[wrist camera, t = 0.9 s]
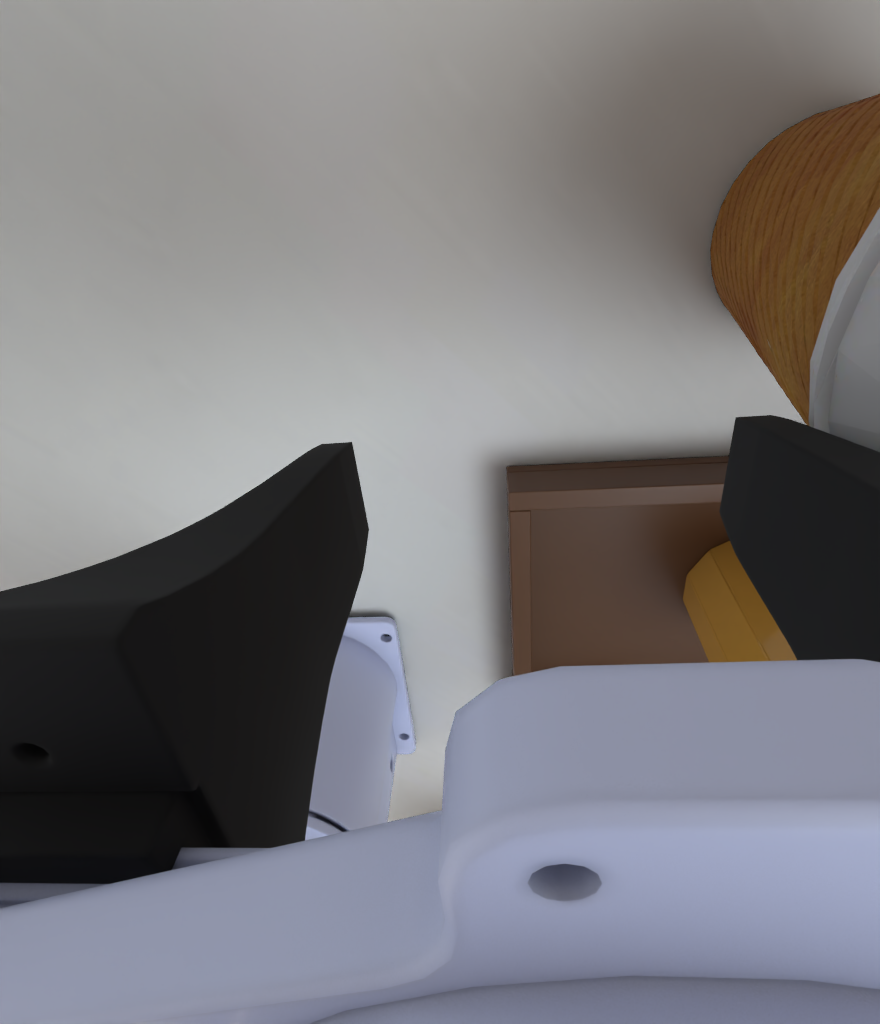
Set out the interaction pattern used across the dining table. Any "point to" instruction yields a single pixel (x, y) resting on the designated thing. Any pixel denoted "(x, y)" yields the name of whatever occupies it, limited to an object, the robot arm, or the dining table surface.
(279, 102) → the dining table surface
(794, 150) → the disposable coffee cup
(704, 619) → the cup
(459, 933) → the robot arm
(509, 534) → the tray
